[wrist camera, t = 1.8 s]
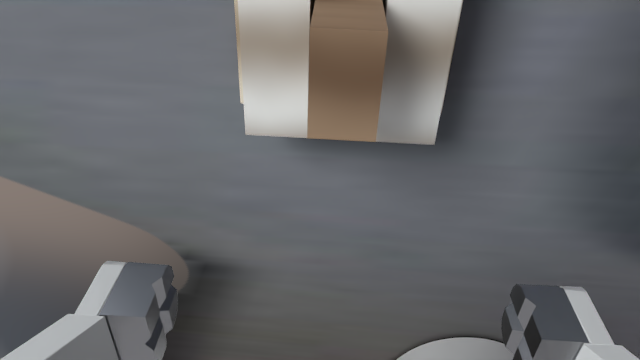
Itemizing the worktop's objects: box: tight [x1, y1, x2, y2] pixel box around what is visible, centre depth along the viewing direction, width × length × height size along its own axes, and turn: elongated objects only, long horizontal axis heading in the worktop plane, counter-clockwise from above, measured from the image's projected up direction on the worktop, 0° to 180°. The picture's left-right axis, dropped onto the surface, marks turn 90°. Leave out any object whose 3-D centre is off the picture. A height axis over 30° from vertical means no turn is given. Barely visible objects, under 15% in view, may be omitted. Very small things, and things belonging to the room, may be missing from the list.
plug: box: [307, 0, 388, 142], centre depth 25 cm, size 5×3×9 cm, turn 178°
